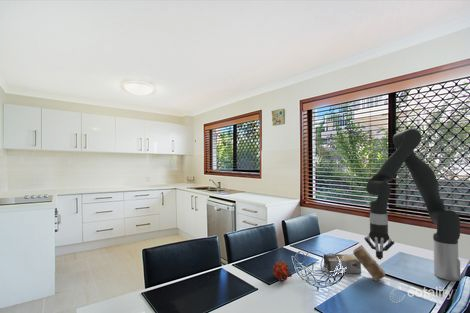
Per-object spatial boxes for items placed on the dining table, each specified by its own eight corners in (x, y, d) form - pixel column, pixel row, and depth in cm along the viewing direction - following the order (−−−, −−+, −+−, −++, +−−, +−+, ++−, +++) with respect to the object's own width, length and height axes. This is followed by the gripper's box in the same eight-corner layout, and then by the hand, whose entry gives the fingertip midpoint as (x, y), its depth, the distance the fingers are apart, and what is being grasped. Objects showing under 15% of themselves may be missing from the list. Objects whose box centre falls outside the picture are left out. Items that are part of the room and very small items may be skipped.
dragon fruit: (279, 275, 127) (286, 290, 115) (266, 266, 126) (271, 281, 114) (289, 262, 126) (297, 276, 114) (276, 254, 125) (282, 267, 113)
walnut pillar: (384, 271, 119) (362, 244, 124) (385, 276, 114) (361, 248, 119) (375, 276, 121) (353, 250, 125) (376, 281, 116) (353, 253, 121)
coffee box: (353, 265, 134) (323, 265, 134) (353, 253, 134) (323, 253, 134) (361, 273, 124) (329, 273, 125) (361, 260, 125) (329, 260, 125)
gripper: (394, 222, 118) (394, 258, 118) (363, 219, 124) (363, 253, 124) (395, 225, 112) (396, 264, 111) (363, 222, 118) (363, 258, 118)
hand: (379, 258), depth 118 cm, fingers closed
